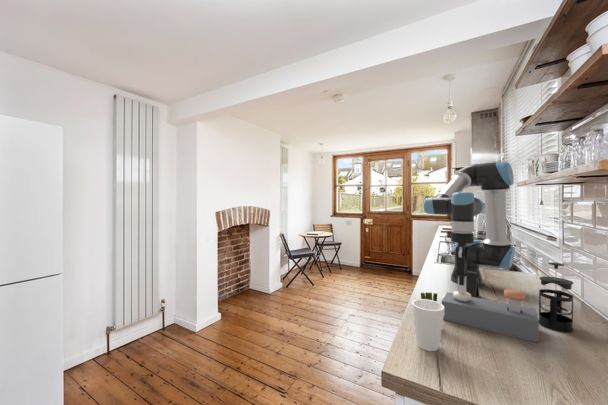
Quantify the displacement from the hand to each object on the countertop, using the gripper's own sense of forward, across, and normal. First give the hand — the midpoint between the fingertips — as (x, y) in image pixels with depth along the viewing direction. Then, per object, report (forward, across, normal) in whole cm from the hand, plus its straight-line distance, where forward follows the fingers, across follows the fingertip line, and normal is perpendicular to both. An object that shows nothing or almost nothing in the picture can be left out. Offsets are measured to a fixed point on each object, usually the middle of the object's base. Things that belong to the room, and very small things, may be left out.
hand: (461, 292), depth 103 cm
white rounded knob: (+9, 0, 0) cm, 9 cm away
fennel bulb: (+10, +14, -9) cm, 19 cm away
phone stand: (+10, -28, 0) cm, 30 cm away
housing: (+10, 0, +8) cm, 13 cm away
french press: (+10, -13, +28) cm, 32 cm away
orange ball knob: (+5, 0, +16) cm, 17 cm away
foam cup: (+10, +29, -6) cm, 31 cm away
